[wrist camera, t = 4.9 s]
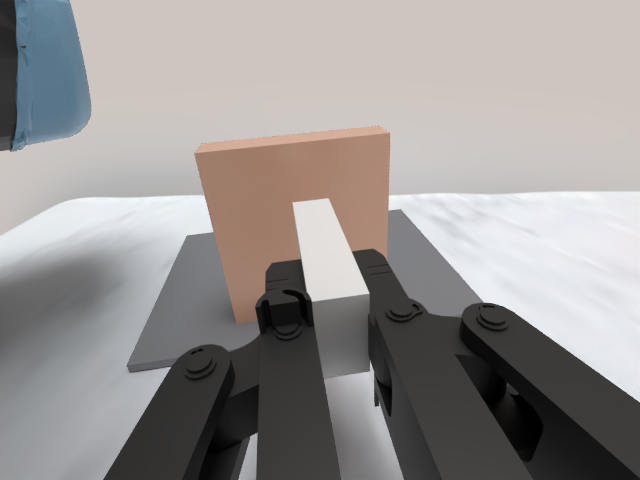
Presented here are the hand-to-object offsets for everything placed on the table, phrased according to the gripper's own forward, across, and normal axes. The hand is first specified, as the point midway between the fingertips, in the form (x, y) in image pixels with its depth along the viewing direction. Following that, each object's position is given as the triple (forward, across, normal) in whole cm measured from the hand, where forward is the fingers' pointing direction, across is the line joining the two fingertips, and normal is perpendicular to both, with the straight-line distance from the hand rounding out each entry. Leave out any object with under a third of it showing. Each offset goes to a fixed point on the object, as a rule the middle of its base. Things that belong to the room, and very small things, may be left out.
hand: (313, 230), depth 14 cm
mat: (+8, 0, -7) cm, 11 cm away
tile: (+4, 0, -7) cm, 8 cm away
